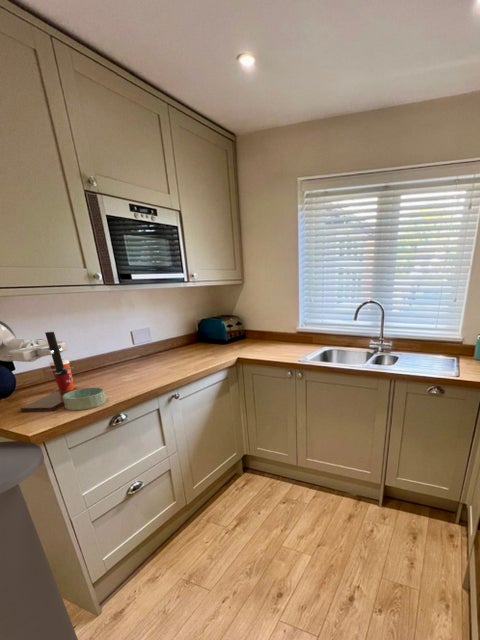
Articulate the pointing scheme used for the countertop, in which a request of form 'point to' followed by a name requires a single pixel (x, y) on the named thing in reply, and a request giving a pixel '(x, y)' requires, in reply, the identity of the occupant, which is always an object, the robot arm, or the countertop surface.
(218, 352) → the countertop surface
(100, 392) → the green bowl
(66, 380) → the paper cup
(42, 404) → the cutting board
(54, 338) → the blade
